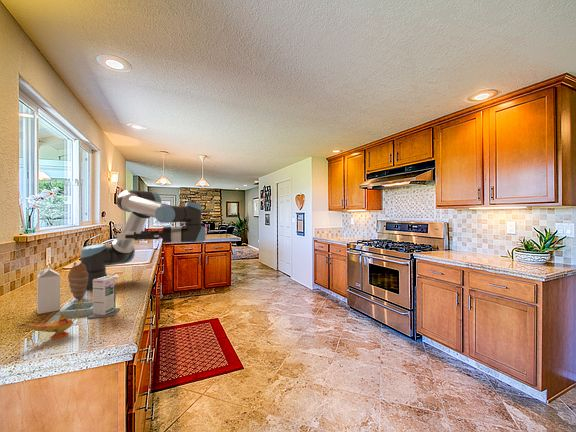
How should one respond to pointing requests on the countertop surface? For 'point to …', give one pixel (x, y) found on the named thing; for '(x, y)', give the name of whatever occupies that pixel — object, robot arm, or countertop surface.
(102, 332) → the countertop surface
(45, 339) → the countertop surface
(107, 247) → the robot arm
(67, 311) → the corral
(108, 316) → the coaster
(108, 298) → the syrup box
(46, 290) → the milk carton
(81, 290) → the cat ice cream
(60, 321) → the magic lamp
